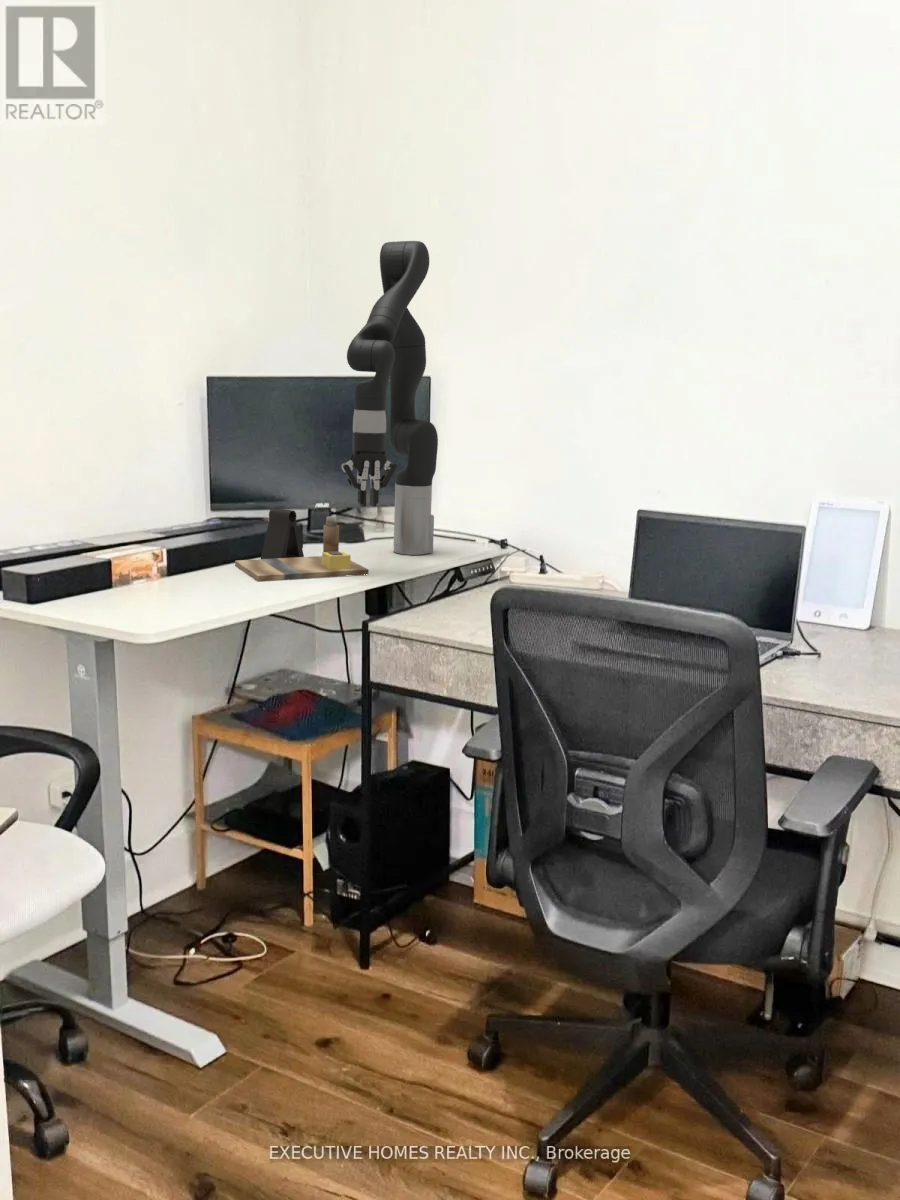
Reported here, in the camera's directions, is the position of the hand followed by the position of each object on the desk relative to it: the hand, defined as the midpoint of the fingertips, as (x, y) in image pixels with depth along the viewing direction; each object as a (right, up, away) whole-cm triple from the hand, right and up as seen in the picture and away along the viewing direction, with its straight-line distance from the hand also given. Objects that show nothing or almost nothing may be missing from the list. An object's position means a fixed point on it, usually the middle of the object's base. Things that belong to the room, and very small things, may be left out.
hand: (367, 505), depth 267 cm
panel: (-15, -15, +1) cm, 21 cm away
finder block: (-7, -14, 0) cm, 16 cm away
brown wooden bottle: (-9, -12, +9) cm, 17 cm away
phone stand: (-21, -12, +13) cm, 28 cm away
